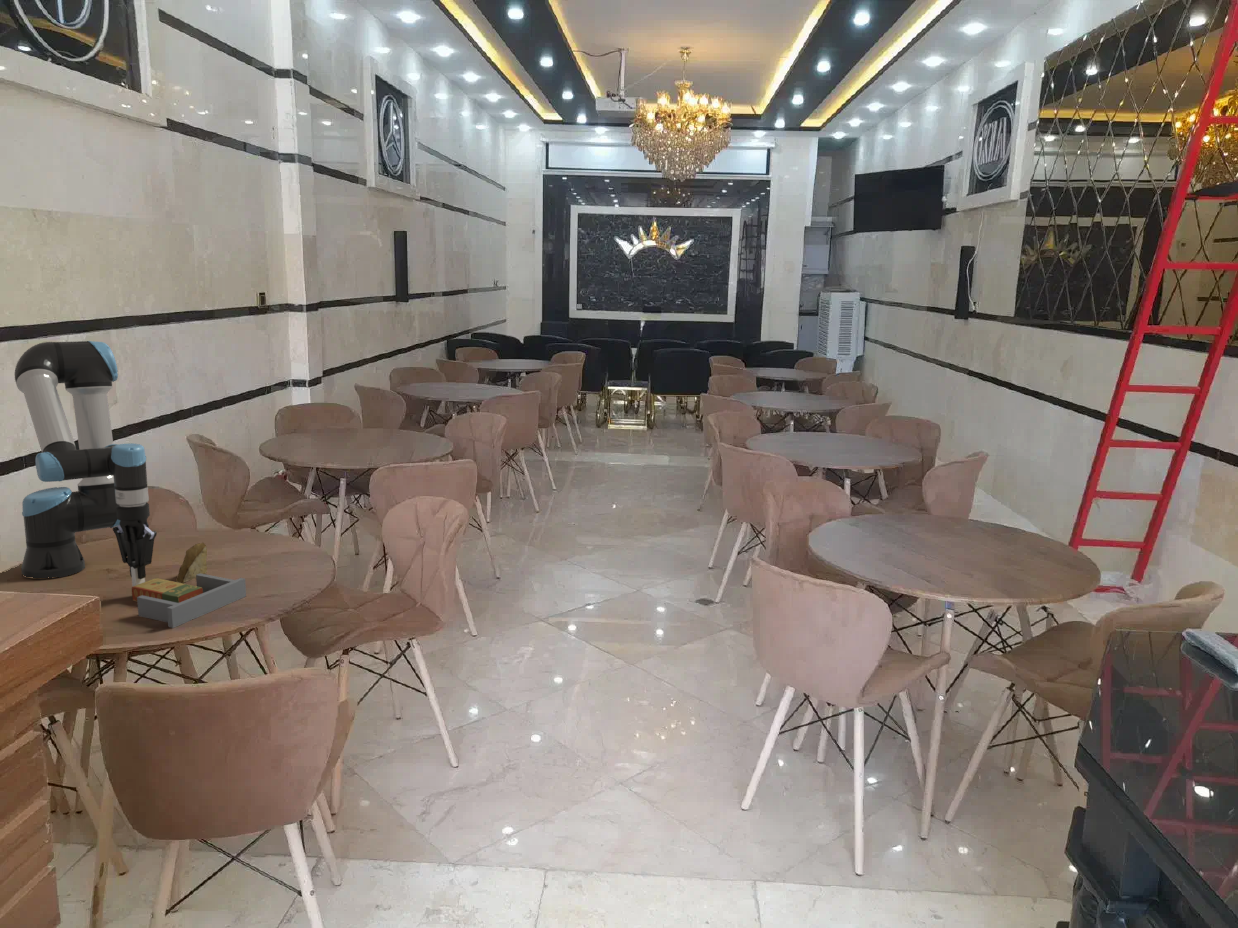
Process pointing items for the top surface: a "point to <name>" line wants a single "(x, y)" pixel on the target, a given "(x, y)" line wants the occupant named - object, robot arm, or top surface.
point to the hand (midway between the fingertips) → (139, 589)
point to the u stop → (193, 601)
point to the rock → (193, 563)
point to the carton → (166, 590)
